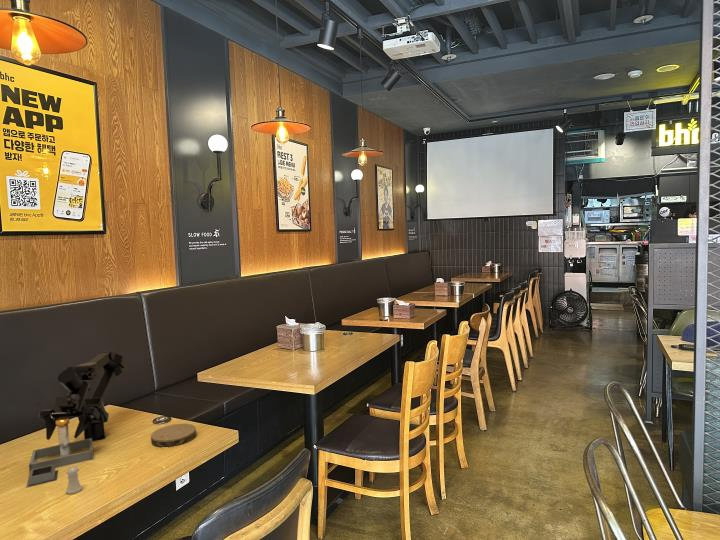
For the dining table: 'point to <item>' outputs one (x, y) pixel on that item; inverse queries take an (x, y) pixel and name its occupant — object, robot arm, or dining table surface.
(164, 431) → the wooden coaster disc
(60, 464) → the pin tray
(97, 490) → the dining table surface
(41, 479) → the bracket
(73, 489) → the rook chess piece
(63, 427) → the stop pin
